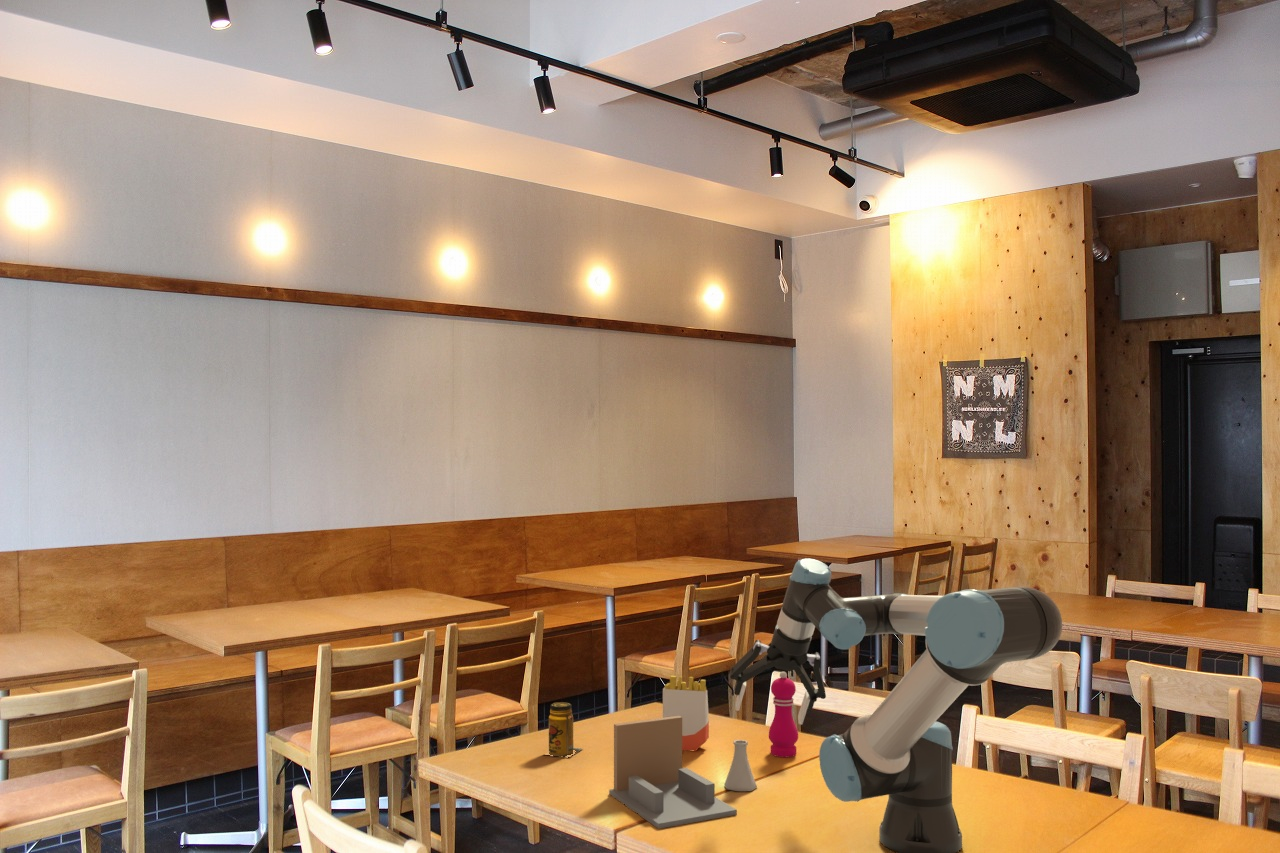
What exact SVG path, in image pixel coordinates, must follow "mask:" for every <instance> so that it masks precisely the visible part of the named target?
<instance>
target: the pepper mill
mask: <svg viewBox="0 0 1280 853" xmlns="http://www.w3.org/2000/svg"><path fill="white" fill-rule="evenodd" d="M796 688H797V687H796V685H795V683H794V681H793V680H792V679H790V678H788V674H787V672H786V671H781V672H780V673H779V677H777V678H776V679H774V680H773V682H772V683H771V685H770V691H771V694H772V695H773V696H774V697H773V698H772V700H773V702H772V704H773V705H774V714H773V715H774V716H773V720H772V722H771V723H770V727H769V729H768V739H769V741H770V742H771V743H772V744H771V745H770V754H771V755H772V756H774V757H779V758H791V757H794V756H796V755H797V746H796V745H795V744H796V743H797V742H798V740H799V730H798V728H797V725H796V723H795V720H794V717H793V710H792V709H793V708H792V707H793V705H794V700H795V699H794V698H793V697H794V695H795V694H796V691H797V689H796Z"/></svg>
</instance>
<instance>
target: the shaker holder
mask: <svg viewBox="0 0 1280 853" xmlns="http://www.w3.org/2000/svg"><path fill="white" fill-rule="evenodd" d="M715 787H716V786H715V782H713V781H711V780H709V779H707V778H705V776H702V775H700V774H698V773H696V772H695V771H693V770H691V769H689V768H688V767H683V750H682V717H681V716H673V717H665V718H663V717H658V718H657V717H656V718H652V719H651V718H650V719H644V720H635V721H627V722H620V723H618V722H617V723H613V788H611V789H609V790H608V792H609V794H608V795H609V796H611V795H612V796H613V797H612V796H611V797H612V798H614V799H615V798H616V799H615V800H617V801H618V800H619V801H618V802H620V803H621V802H622V803H623V804H622V803H621V804H622V805H624V804H625V805H626V806H625V805H624V806H625V807H627V808H628V809H630V810H631V811H632V810H633V812H634V811H635V812H636V813H635V812H634V813H635V814H637V813H638V814H639V815H638V814H637V815H638V816H639V817H641V818H642V817H643V818H642V819H643V820H645V821H646V822H648V823H649V824H651V825H652V826H654V827H655V828H657V829H658V830H660V829H661V830H662V829H665V828H671V827H677V826H682V825H688V824H692V823H698V822H705V821H708V820H715V819H720V818H726V817H731V816H738V815H737V814H738V810H737V809H736V808H735V807H733V806H731V805H729V804H728V803H726V802H724V801H722V800H721V799H719V798H718V797H716V796H715V792H716V791H715V789H716V788H715Z"/></svg>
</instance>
